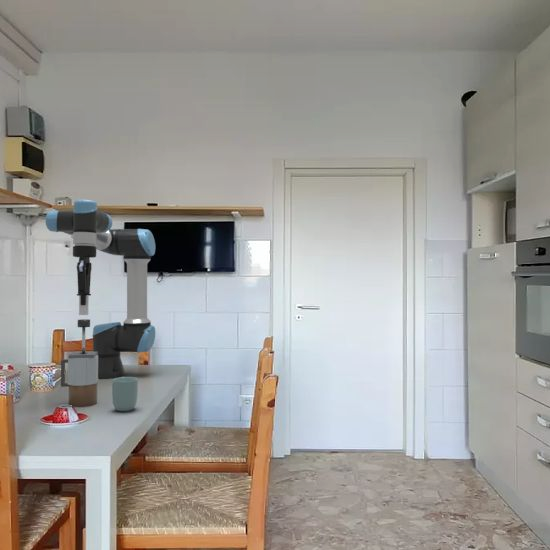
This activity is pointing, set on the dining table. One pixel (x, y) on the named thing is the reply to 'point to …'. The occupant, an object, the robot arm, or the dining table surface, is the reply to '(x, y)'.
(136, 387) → the cup
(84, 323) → the plunger
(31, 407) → the dining table surface
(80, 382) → the carafe
